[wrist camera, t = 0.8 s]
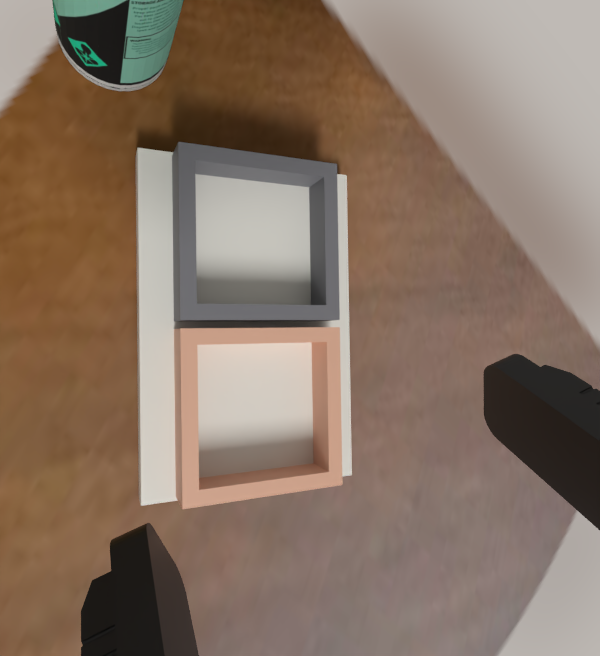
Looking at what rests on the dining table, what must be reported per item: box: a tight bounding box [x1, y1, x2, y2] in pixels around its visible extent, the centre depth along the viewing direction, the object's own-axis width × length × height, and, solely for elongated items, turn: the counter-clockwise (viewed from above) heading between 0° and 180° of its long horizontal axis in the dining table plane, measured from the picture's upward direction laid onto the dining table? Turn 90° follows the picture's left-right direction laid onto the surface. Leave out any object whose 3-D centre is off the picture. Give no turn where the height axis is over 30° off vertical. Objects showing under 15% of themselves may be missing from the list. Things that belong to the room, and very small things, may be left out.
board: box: [136, 142, 352, 509], centre depth 26 cm, size 12×18×3 cm, turn 1°
